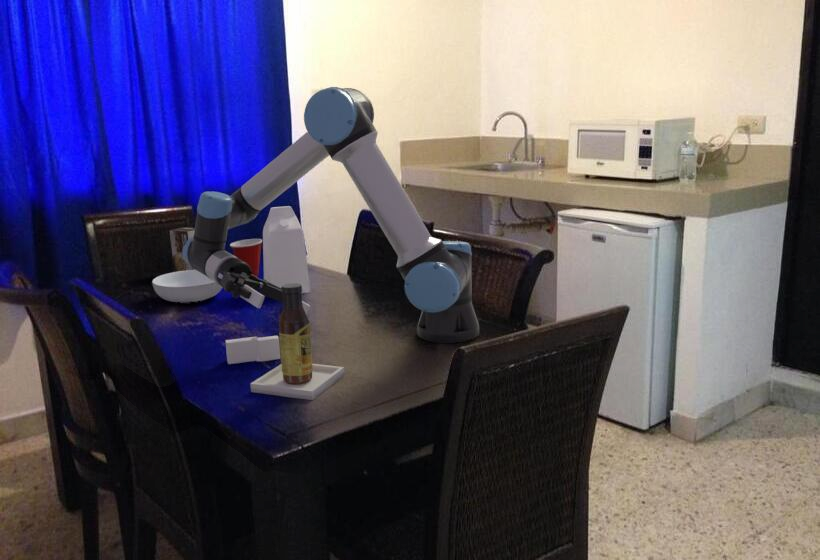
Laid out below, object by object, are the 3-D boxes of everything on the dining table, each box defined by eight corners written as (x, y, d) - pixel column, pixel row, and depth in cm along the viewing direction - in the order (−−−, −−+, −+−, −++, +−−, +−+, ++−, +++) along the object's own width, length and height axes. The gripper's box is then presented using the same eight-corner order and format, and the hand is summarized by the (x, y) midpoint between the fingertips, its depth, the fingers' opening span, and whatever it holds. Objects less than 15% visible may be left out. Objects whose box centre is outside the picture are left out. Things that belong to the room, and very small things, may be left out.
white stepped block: (213, 367, 164) (210, 343, 163) (240, 351, 175) (238, 328, 173) (272, 374, 159) (270, 349, 158) (297, 357, 170) (295, 333, 168)
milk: (301, 284, 236) (296, 203, 230) (310, 292, 226) (304, 207, 220) (264, 288, 232) (257, 206, 226) (271, 297, 222) (264, 211, 216)
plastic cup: (231, 274, 254) (228, 239, 251) (263, 271, 257) (260, 237, 254) (233, 281, 243) (230, 245, 241) (266, 278, 246) (264, 242, 244)
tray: (344, 375, 156) (344, 367, 156) (312, 400, 143) (312, 391, 143) (286, 368, 161) (286, 360, 161) (251, 392, 148) (250, 383, 148)
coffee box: (206, 274, 254) (202, 228, 250) (192, 278, 249) (187, 231, 245) (188, 272, 259) (183, 226, 255) (173, 276, 254) (168, 229, 250)
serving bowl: (140, 307, 215) (137, 284, 213) (178, 289, 234) (176, 268, 233) (205, 310, 210) (202, 286, 208) (238, 292, 229) (236, 270, 228)
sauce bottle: (309, 385, 149) (302, 289, 144) (279, 385, 149) (271, 289, 145) (316, 374, 155) (310, 281, 150) (287, 373, 156) (280, 282, 151)
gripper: (263, 295, 181) (318, 330, 168) (178, 277, 161) (233, 315, 148) (275, 267, 180) (331, 299, 167) (190, 245, 161) (246, 280, 148)
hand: (285, 307), depth 158 cm, fingers open, 13 cm apart
